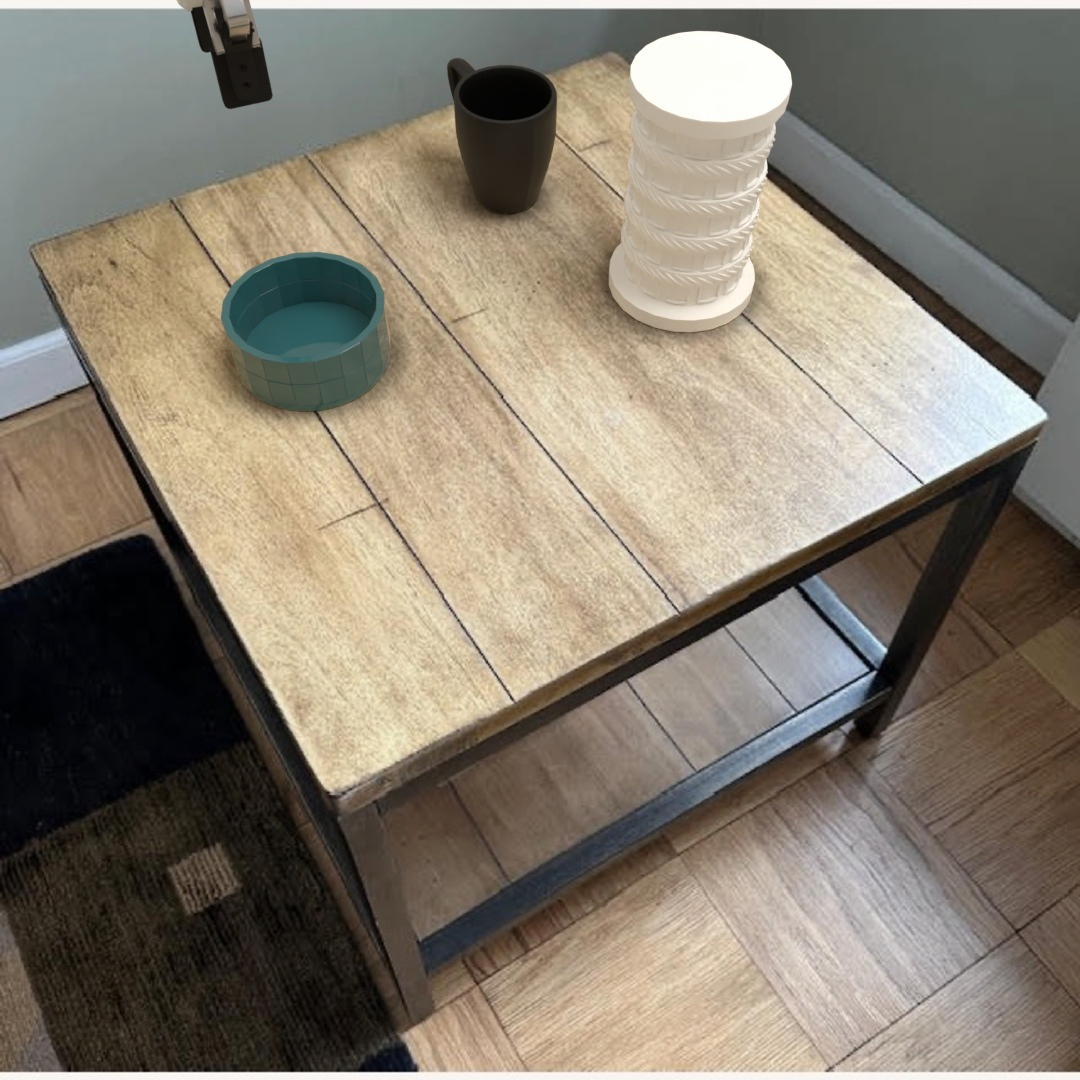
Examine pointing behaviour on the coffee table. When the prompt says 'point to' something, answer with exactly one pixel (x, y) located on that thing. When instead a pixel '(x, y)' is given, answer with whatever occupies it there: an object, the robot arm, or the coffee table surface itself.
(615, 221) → the coffee table surface
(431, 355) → the coffee table surface
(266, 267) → the bowl
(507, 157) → the mug
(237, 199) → the coffee table surface
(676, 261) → the decorative container
